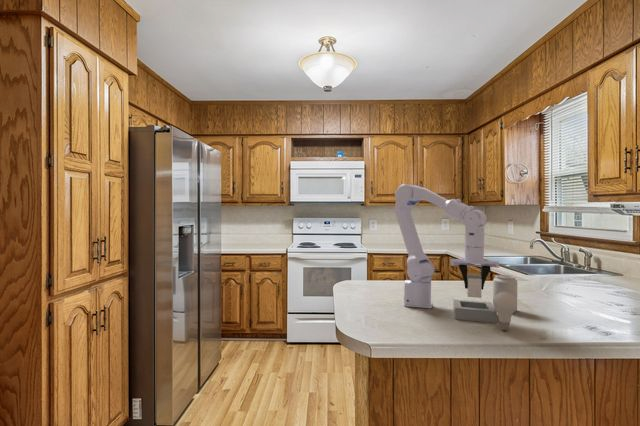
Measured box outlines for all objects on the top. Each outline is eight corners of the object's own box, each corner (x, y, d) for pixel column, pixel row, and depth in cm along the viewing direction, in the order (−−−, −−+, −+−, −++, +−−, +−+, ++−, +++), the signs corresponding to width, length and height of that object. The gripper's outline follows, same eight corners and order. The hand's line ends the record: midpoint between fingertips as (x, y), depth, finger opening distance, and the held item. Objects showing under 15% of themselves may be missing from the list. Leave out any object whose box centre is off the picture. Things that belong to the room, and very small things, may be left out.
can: (520, 314, 122) (520, 278, 122) (496, 312, 123) (496, 277, 123) (513, 308, 129) (513, 274, 129) (490, 306, 131) (490, 273, 131)
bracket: (467, 296, 117) (468, 275, 117) (466, 293, 122) (467, 272, 121) (481, 297, 116) (481, 275, 115) (479, 294, 120) (480, 273, 120)
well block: (454, 319, 115) (455, 307, 115) (453, 309, 127) (453, 299, 127) (496, 322, 112) (496, 311, 111) (491, 312, 123) (491, 302, 123)
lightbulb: (515, 335, 100) (516, 295, 100) (491, 331, 104) (491, 292, 104) (517, 329, 105) (517, 291, 105) (494, 325, 109) (494, 288, 109)
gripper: (451, 247, 117) (450, 289, 117) (501, 248, 113) (500, 292, 113) (450, 245, 124) (449, 285, 124) (497, 246, 120) (496, 288, 120)
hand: (473, 288), depth 119 cm, fingers closed on bracket, 4 cm apart
